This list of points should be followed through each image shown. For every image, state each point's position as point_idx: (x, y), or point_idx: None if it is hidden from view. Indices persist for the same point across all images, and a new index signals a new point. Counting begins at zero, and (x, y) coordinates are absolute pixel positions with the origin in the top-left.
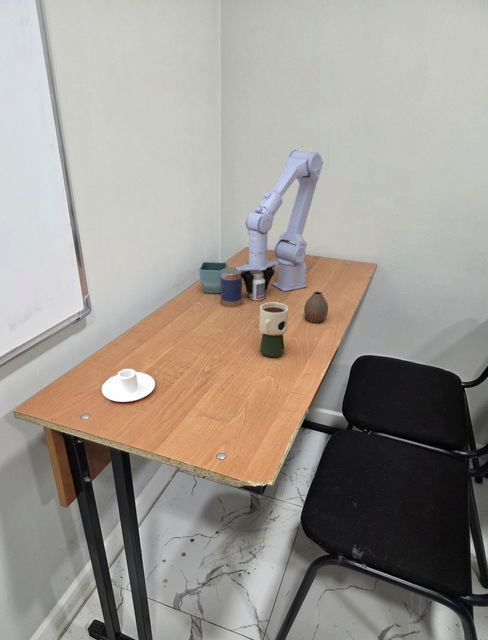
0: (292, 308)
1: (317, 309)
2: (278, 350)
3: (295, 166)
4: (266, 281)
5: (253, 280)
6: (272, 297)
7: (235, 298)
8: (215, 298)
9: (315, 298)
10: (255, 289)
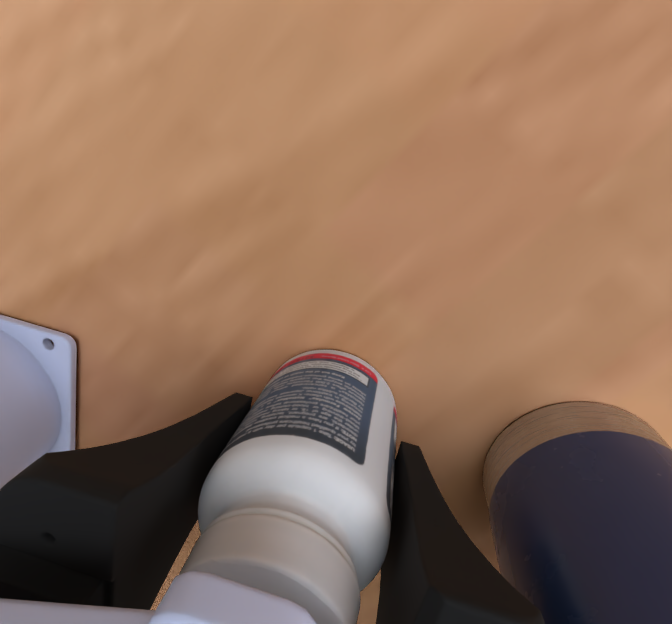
0: (240, 11)
1: None
2: None
3: None
4: (203, 448)
5: (363, 545)
6: (223, 326)
7: (662, 458)
8: None
9: None
10: (375, 439)
